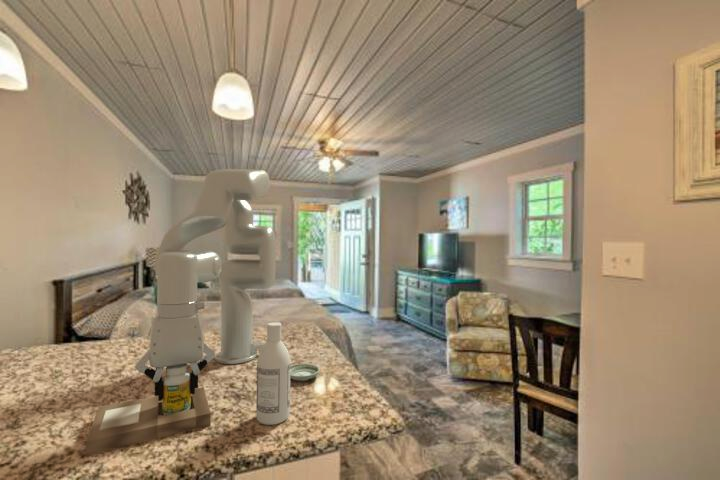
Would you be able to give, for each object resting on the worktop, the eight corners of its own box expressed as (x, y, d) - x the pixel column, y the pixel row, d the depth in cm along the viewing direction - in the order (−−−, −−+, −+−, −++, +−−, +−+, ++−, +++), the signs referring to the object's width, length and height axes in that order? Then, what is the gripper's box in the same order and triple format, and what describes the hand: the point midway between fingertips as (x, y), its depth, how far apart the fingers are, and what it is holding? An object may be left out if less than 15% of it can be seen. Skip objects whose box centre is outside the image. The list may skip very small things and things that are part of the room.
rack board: (203, 397, 81) (203, 386, 81) (210, 425, 69) (210, 412, 69) (98, 418, 71) (99, 406, 71) (85, 456, 58) (85, 440, 58)
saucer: (326, 374, 96) (326, 366, 96) (307, 388, 87) (307, 378, 87) (297, 369, 100) (298, 360, 100) (277, 381, 91) (277, 372, 91)
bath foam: (276, 406, 77) (278, 318, 77) (296, 416, 72) (297, 323, 73) (249, 417, 72) (251, 324, 72) (268, 430, 67) (270, 329, 67)
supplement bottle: (189, 402, 75) (189, 359, 75) (192, 412, 71) (192, 367, 71) (161, 408, 73) (161, 364, 73) (162, 419, 68) (163, 372, 68)
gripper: (218, 303, 79) (217, 380, 79) (130, 310, 71) (129, 397, 71) (223, 309, 73) (222, 393, 73) (127, 318, 64) (126, 413, 64)
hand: (176, 394), depth 72 cm, fingers closed on supplement bottle, 5 cm apart
